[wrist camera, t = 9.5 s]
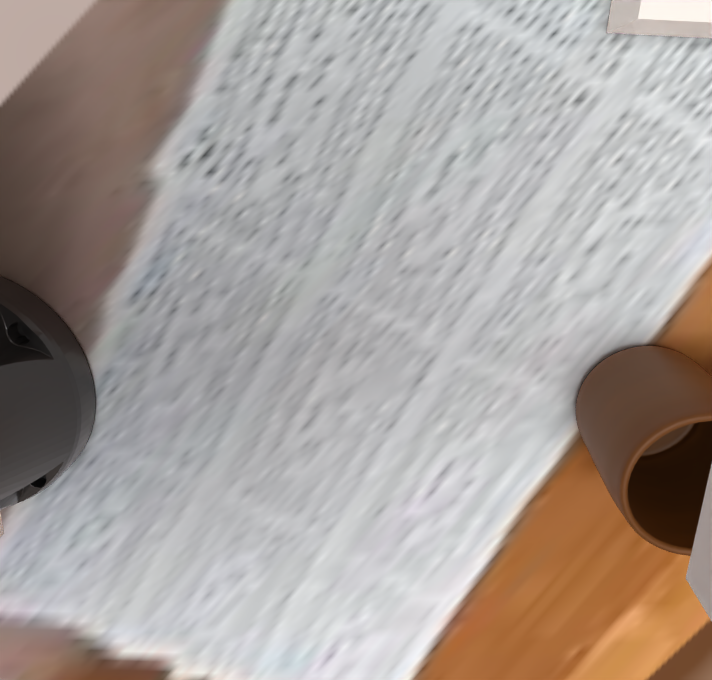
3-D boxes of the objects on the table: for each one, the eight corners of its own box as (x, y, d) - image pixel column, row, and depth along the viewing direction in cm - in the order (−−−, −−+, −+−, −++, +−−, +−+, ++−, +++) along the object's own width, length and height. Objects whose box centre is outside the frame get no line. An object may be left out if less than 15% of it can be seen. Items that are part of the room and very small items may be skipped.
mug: (744, 271, 36) (852, 322, 27) (806, 381, 37) (928, 463, 28) (547, 385, 39) (585, 466, 30) (612, 482, 40) (667, 586, 31)
